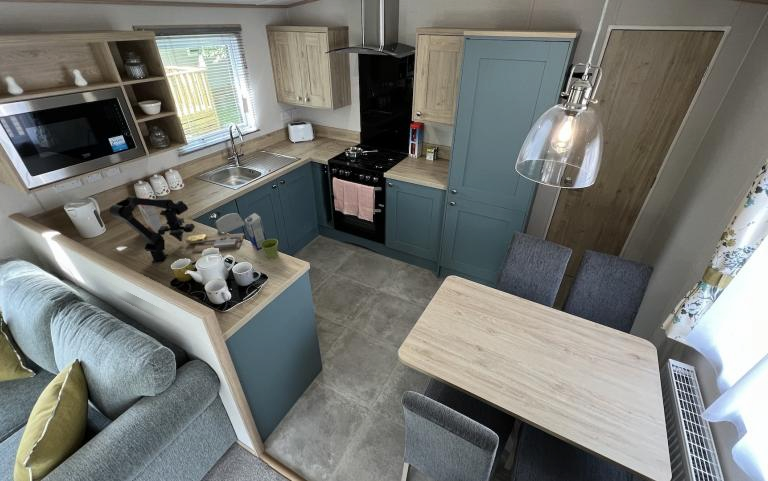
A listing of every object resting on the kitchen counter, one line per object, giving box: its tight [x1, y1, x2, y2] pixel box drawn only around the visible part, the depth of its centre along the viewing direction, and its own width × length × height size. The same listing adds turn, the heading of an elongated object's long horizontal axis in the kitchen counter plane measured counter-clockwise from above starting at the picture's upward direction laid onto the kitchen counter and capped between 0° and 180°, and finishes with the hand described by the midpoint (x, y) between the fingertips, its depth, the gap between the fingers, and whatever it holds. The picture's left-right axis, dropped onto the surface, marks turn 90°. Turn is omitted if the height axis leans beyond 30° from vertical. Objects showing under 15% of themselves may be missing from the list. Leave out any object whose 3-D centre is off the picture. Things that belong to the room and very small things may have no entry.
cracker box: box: [137, 196, 164, 233], centre depth 218 cm, size 14×6×21 cm, turn 49°
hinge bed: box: [192, 233, 245, 254], centre depth 206 cm, size 16×26×4 cm, turn 98°
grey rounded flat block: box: [214, 212, 246, 235], centre depth 221 cm, size 17×5×10 cm, turn 138°
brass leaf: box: [185, 233, 207, 245], centre depth 208 cm, size 6×10×2 cm, turn 98°
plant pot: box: [261, 238, 279, 260], centre depth 192 cm, size 9×9×9 cm
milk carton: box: [244, 212, 267, 251], centre depth 198 cm, size 7×7×20 cm
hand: (181, 241), depth 207 cm, fingers closed
